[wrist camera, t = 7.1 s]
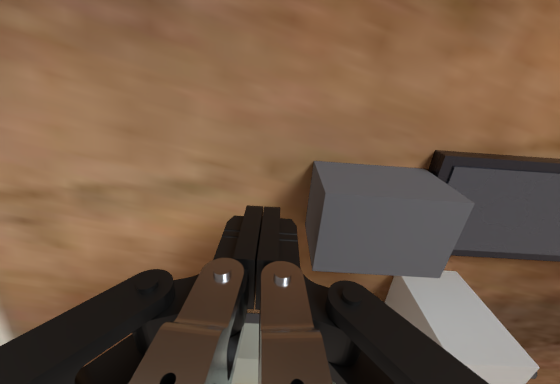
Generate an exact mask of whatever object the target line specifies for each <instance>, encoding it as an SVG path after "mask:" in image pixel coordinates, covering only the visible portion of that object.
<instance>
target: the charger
mask: <svg viewBox="0 0 560 384" xmlns="http://www.w3.org/2000/svg"><path fill="white" fill-rule="evenodd" d="M385 304H387V305H388V306H389V307H391V308H392V309H393V310H394V311H396V312H397V313H398V314H400V315H401V316H402V317H403V318H405V319H406V320H407V321H409V322H410V323H411V324H413V325H414V326H415V327H416V328H418V329H419V330H420V331H422V332H423V333H424V334H425V335H427V336H428V337H429V338H431V339H432V340H433V341H435V342H436V343H437V344H438V345H440V346H441V347H442V348H444V349H445V350H446V351H447V352H449V353H450V354H451V355H453V356H454V357H455V358H457V359H458V360H459V361H460V362H462V363H463V364H464V365H466V366H467V367H468V368H470V369H471V370H472V371H473V372H475V373H476V374H477V375H479V376H480V377H481V378H482V379H484V380H485V381H486V382H488V383H489V384H526V383H527V382H528V380H529V379H530V378H531V377H532V376H533V375H534V374H535V373H536V371H537V370H538V369H539V368H540V367H539V366H538V365H537V364H536V363H535V362H534V360H533V359H532V358H531V357H530V356H529V355H528V354H527V352H526V351H525V350H524V349H523V348H522V347H521V345H520V344H519V343H518V342H517V341H516V340H515V339H514V337H513V336H512V335H511V334H510V333H509V332H508V330H507V329H506V328H505V327H504V326H503V325H502V324H501V322H500V321H499V320H498V319H497V318H496V317H495V315H494V314H493V313H492V312H491V311H490V310H489V309H488V307H487V306H486V305H485V304H484V303H483V302H482V300H481V299H480V298H479V297H478V296H477V295H476V293H475V292H474V291H473V290H472V289H471V288H470V287H469V285H468V284H467V283H466V282H465V281H464V280H463V278H462V277H461V276H460V275H459V274H458V273H457V272H456V271H443V272H442V274H441V277H440V278H427V277H410V276H394V277H393V280H392V283H391V286H390V289H389V292H388V294H387V297H386V300H385Z"/></svg>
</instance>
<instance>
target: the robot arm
mask: <svg viewBox="0 0 560 384" xmlns="http://www.w3.org/2000/svg"><path fill="white" fill-rule="evenodd" d="M255 294H256V308H255V309H258V310H260V314H259V350H258V384H332V379H333V380H334V382H335V383H336V384H489V383H488V382H486V381H485V380H484V379H482V378H481V377H480V376H479V375H477V374H476V373H475V372H473V371H472V370H471V369H470V368H468V367H467V366H466V365H464V364H463V363H462V362H460V361H459V360H458V359H457V358H455V357H454V356H453V355H451V354H450V353H449V352H447V351H446V350H445V349H444V348H442V347H441V346H440V345H438V344H437V343H436V342H435V341H433V340H432V339H431V338H429V337H428V336H427V335H425V334H424V333H423V332H422V331H420V330H419V329H418V328H416V327H415V326H414V325H413V324H411V323H410V322H409V321H407V320H406V319H405V318H403V317H402V316H401V315H400V314H398V313H397V312H396V311H394V310H393V309H392V308H391V307H389V306H388V305H387V304H385V303H384V302H383V301H381V300H380V299H379V298H378V297H376V296H375V295H374V294H372V293H371V292H370V291H369V290H367V289H366V288H365V287H363V286H362V285H360V284H358V283H355V282H352V281H338V282H336V283H334V284H332V285H331V287H330V288H328V287H325V286H321V285H318V284H316V283H314V282H312V281H310V280H309V279H307V278H306V277H305V276H304V274H303V273H302V271H301V269H300V261H299V249H298V238H297V226H296V225H295V223H294V222H293V221H292V219H281V218H280V207H264V212H263V206H247V207H246V210H245V214H244V216H233V217H232V218H231V219H230V220H229V221H228V222H227V224H226V226H225V229H224V232H223V235H222V237H221V240H220V243H219V245H218V248H217V251H216V254H215V256H214V259H213V260H212V261H210V262H209V263H207V264H206V265H205V266H204V267H203V268H202V270H201V272H200V274H198V275H196V276H193V277H189V278H183V279H178V280H173V277H172V275H171V274H170V273H169V272H167V271H165V270H160V269H153V270H147V271H144V272H141V273H139V274H137V275H135V276H133V277H131V278H129V279H127V280H125V281H123V282H122V283H120V284H118V285H116V286H114V287H112V288H110V289H108V290H106V291H104V292H103V293H101V294H99V295H97V296H95V297H93V298H91V299H89V300H87V301H85V302H84V303H82V304H80V305H78V306H76V307H74V308H72V309H70V310H68V311H66V312H64V313H63V314H61V315H59V316H57V317H55V318H53V319H51V320H49V321H47V322H45V323H44V324H42V325H40V326H38V327H36V328H34V329H32V330H30V331H28V332H26V333H25V334H23V335H21V336H19V337H17V338H15V339H13V340H11V341H9V342H7V343H6V344H4V345H2V346H0V384H231V383H232V379H233V374H234V370H235V366H236V361H237V357H238V353H239V348H240V344H241V340H242V336H243V331H244V323H245V320H246V314H247V309H254V302H255ZM130 333H132V335H130V336H129V337H127V338H126V339H124V340H123V341H121V342H120V343H119V344H117V345H116V346H114V347H113V348H111V349H110V350H108V351H107V352H105V353H104V354H102V355H101V356H99V357H98V358H97V359H95V360H94V361H92V362H91V363H89V364H88V365H86V366H84V365H85V364H86V363H88V362H89V361H91V360H92V359H94V358H95V357H97V356H98V355H99V354H101V353H102V352H104V351H105V350H107V349H108V348H110V347H111V346H113V345H114V344H116V343H117V342H119V341H120V340H122V339H123V338H125V337H126V336H128V335H129V334H130ZM83 366H84V367H83ZM82 367H83V368H82ZM331 378H332V379H331Z"/></svg>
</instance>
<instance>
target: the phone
mask: <svg viewBox="0 0 560 384" xmlns="http://www.w3.org/2000/svg"><path fill="white" fill-rule="evenodd" d="M428 171H429V172H430V173H432V174H433V175H435V176H436V177H438V178H439V179H440V180H442V181H443V182H445V183H446V184H448V185H449V186H451V187H452V188H453V189H455V190H456V191H458V192H459V193H461V194H462V195H464V196H465V197H466V198H468V199H469V200H471V201H472V202H474V203H475V204H474V206H473V209H472V211H471V213H470V215H469V217H468V219H467V221H466V223H465V226H464V228H463V230H462V232H461V234H460V236H459V238H458V240H457V243H456V245H455V247H454V249H453V251H452V253H451V255H455V256H473V257H490V258H508V259H526V260H543V261H560V159H554V158H539V157H525V156H511V155H496V154H482V153H468V152H454V151H439V150H435V153H434V156H433V159H432V161H431V164H430V167H429V170H428Z"/></svg>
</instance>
